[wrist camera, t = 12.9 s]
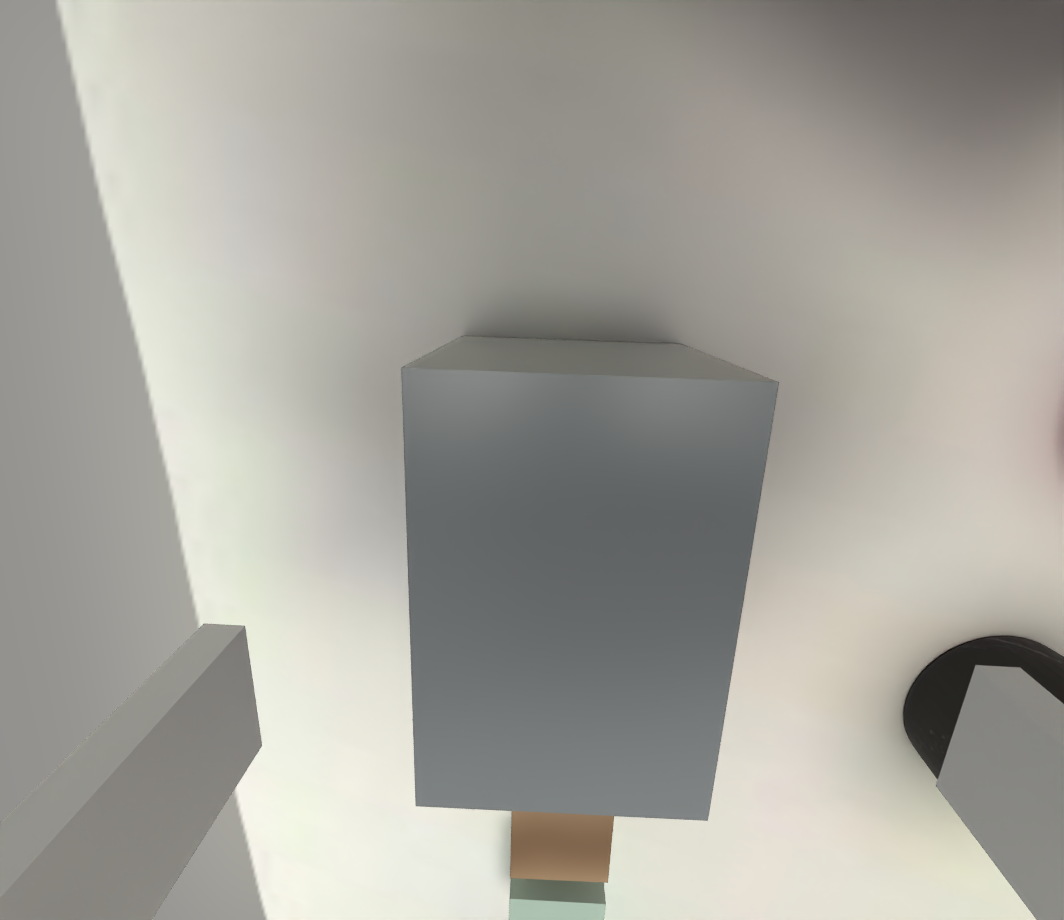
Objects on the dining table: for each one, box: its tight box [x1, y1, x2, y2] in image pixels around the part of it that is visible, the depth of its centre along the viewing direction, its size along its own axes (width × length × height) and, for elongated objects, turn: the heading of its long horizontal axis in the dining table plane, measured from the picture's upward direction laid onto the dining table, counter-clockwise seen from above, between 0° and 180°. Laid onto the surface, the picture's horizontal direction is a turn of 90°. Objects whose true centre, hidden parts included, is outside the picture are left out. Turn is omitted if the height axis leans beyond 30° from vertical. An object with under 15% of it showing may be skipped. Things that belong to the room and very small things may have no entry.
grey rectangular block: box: [401, 336, 779, 821], centre depth 18 cm, size 12×8×9 cm, turn 178°
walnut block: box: [510, 811, 614, 883], centre depth 24 cm, size 4×4×4 cm
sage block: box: [509, 878, 606, 920], centre depth 26 cm, size 4×4×4 cm
